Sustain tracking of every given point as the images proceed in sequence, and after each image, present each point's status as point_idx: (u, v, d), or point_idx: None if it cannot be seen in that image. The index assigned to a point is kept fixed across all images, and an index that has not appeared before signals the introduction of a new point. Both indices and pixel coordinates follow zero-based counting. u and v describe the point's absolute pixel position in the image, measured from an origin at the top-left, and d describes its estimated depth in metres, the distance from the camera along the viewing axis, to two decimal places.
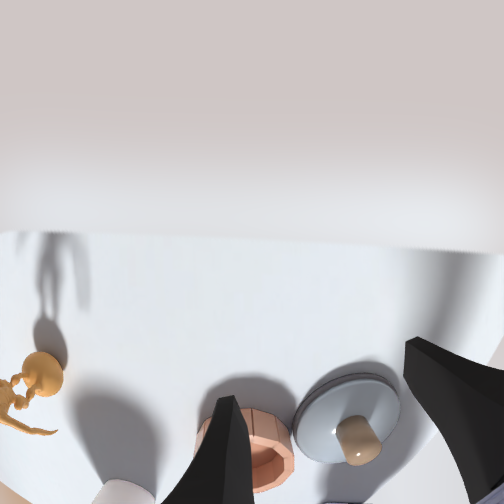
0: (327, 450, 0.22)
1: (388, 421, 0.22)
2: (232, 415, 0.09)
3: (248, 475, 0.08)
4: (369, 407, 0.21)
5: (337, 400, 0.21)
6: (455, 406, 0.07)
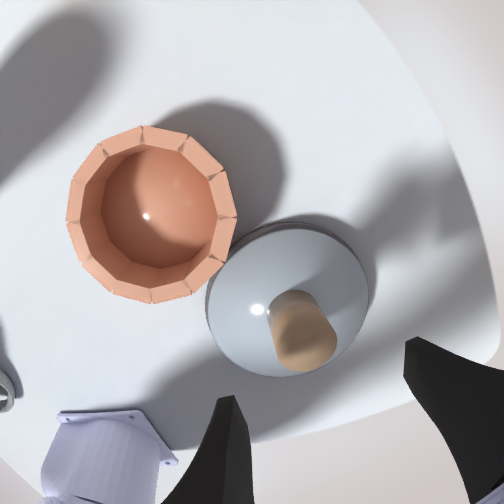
0: (237, 319, 0.17)
1: None
2: (232, 415, 0.09)
3: (248, 475, 0.08)
4: (333, 304, 0.17)
5: (322, 252, 0.16)
6: (455, 406, 0.07)
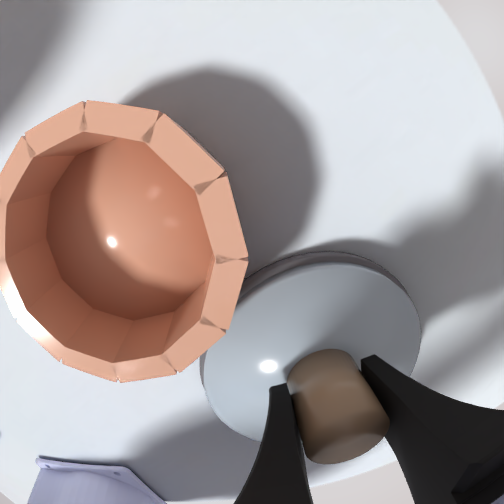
0: (246, 388, 0.11)
1: None
2: (291, 402, 0.09)
3: (304, 463, 0.08)
4: None
5: (370, 297, 0.10)
6: (405, 433, 0.07)
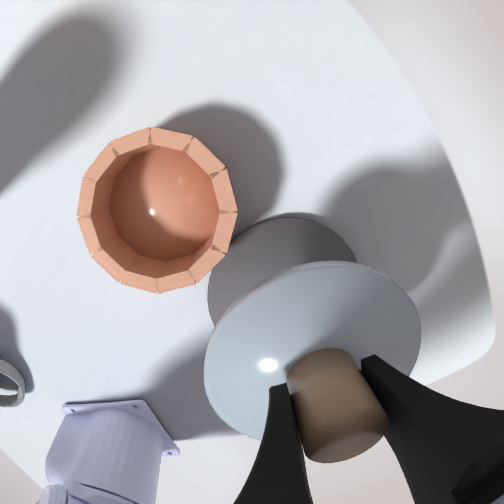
0: (245, 386, 0.11)
1: None
2: (290, 402, 0.09)
3: (304, 463, 0.08)
4: None
5: (370, 297, 0.10)
6: (405, 433, 0.07)
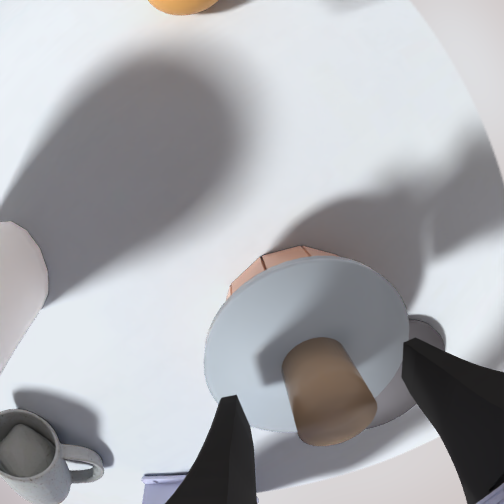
0: (243, 376, 0.12)
1: None
2: (235, 414, 0.09)
3: (251, 475, 0.08)
4: (366, 350, 0.12)
5: (355, 288, 0.11)
6: (453, 407, 0.07)
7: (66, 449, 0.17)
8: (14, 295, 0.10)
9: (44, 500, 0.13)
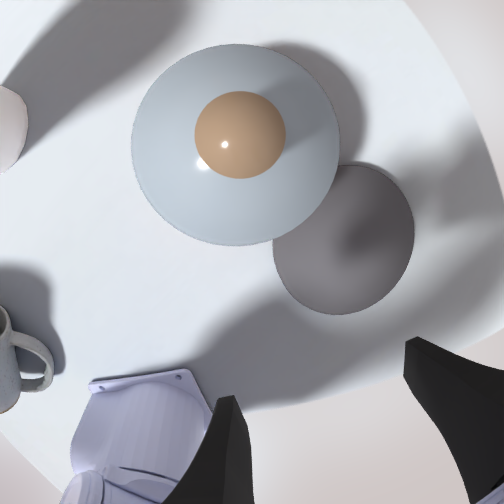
0: (166, 151, 0.12)
1: (289, 203, 0.14)
2: (232, 415, 0.09)
3: (248, 475, 0.08)
4: (291, 132, 0.13)
5: (266, 65, 0.12)
6: (455, 406, 0.07)
7: (16, 335, 0.17)
8: None
9: None
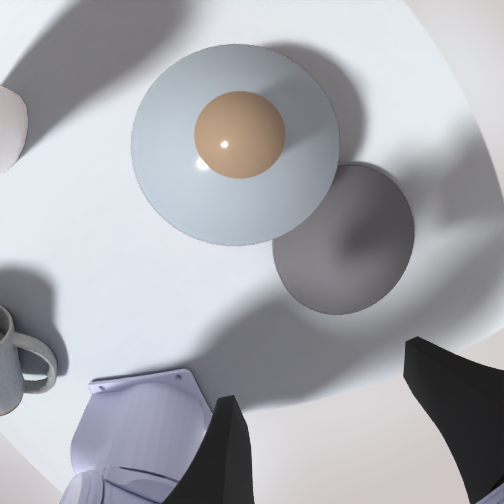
0: (166, 151, 0.12)
1: (289, 203, 0.14)
2: (232, 415, 0.09)
3: (248, 475, 0.08)
4: (290, 131, 0.13)
5: (266, 65, 0.12)
6: (455, 406, 0.07)
7: (19, 337, 0.17)
8: None
9: None
